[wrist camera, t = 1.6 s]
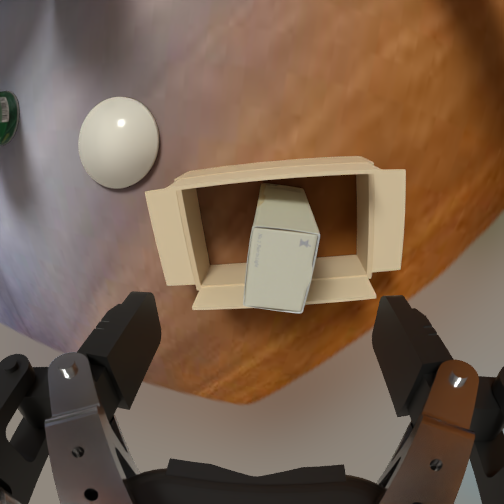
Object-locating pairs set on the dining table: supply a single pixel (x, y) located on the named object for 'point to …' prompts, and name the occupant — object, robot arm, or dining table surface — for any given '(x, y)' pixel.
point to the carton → (326, 268)
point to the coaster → (118, 142)
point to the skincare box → (281, 250)
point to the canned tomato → (8, 116)
